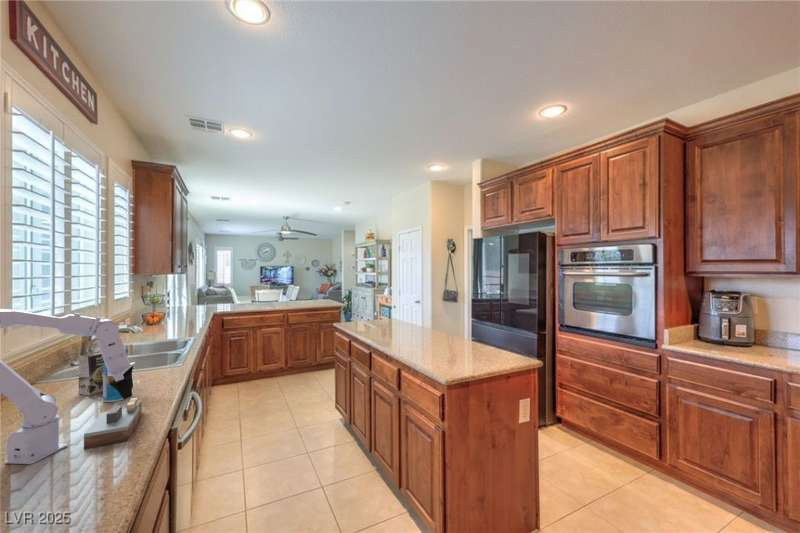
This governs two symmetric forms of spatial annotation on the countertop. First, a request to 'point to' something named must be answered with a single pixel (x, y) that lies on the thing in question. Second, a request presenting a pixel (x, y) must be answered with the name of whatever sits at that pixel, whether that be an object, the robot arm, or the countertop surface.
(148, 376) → the countertop surface
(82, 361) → the coffee box
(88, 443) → the brown angular frame
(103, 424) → the lid
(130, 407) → the block
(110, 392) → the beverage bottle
